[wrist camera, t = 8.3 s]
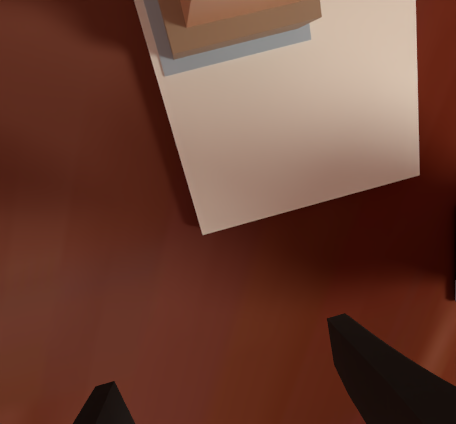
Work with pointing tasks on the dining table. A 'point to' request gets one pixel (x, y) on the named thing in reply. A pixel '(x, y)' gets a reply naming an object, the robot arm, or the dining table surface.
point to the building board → (287, 102)
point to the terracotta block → (224, 9)
